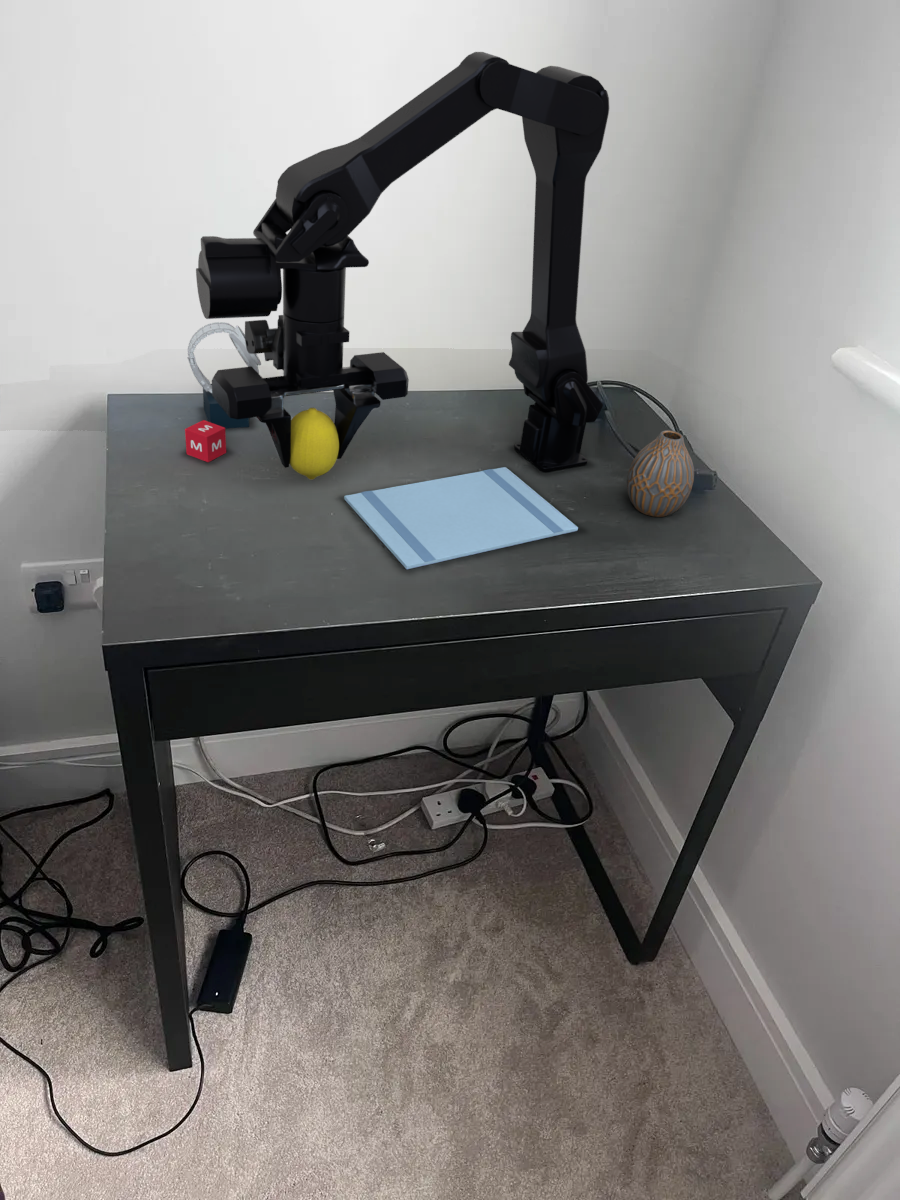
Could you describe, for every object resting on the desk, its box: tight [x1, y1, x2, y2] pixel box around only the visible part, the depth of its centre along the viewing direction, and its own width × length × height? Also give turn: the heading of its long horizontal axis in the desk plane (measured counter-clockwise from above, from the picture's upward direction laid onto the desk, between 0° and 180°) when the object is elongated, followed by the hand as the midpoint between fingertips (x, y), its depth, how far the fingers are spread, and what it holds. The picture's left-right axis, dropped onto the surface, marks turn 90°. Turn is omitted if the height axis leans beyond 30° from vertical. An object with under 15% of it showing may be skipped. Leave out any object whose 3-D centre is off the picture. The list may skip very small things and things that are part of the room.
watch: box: [187, 321, 262, 429], centre depth 104 cm, size 6×8×11 cm
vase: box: [626, 429, 695, 518], centre depth 98 cm, size 7×7×9 cm
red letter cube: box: [184, 419, 227, 463], centre depth 99 cm, size 3×3×3 cm
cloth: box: [343, 466, 579, 570], centre depth 95 cm, size 20×14×1 cm
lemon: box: [289, 407, 339, 481], centre depth 94 cm, size 6×6×8 cm
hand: (311, 461), depth 95 cm, fingers closed on lemon, 5 cm apart
